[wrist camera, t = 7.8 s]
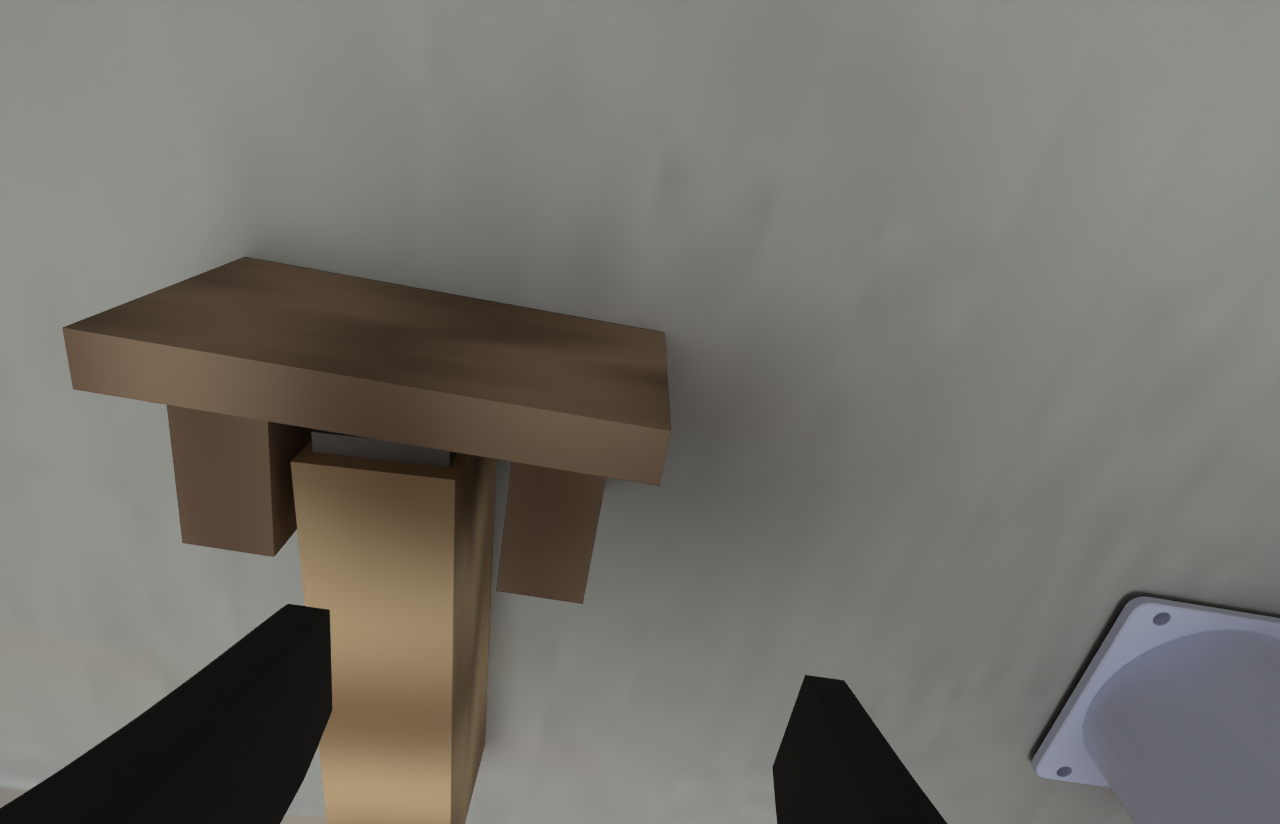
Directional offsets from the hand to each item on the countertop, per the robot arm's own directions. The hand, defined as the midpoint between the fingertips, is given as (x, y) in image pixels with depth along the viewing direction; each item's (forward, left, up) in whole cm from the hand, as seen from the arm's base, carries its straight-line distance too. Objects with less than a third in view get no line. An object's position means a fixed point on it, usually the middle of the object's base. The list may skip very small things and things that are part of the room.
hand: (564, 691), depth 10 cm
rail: (+4, +7, -10) cm, 13 cm away
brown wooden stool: (+4, +1, -10) cm, 11 cm away
